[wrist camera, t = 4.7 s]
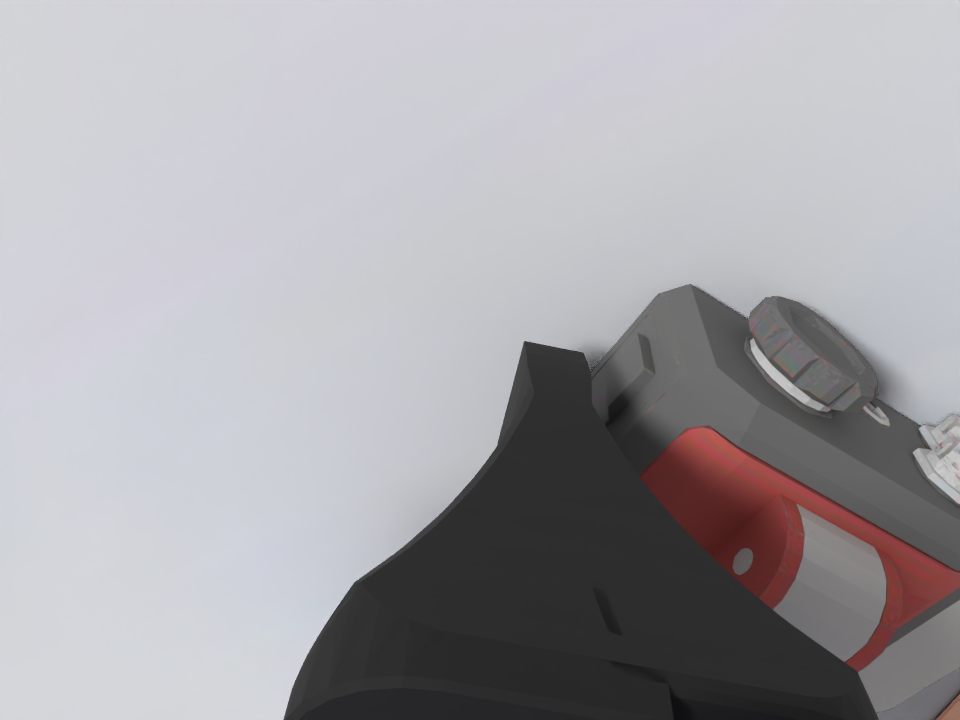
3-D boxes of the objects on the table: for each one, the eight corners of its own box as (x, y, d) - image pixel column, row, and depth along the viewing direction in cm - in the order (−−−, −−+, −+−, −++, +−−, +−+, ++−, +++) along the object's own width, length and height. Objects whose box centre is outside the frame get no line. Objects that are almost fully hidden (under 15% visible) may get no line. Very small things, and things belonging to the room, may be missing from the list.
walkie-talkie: (631, 777, 21) (1517, 160, 11) (648, 976, 17) (2021, 322, 7) (335, 652, 19) (1092, -253, 9) (283, 848, 15) (1486, -322, 5)
